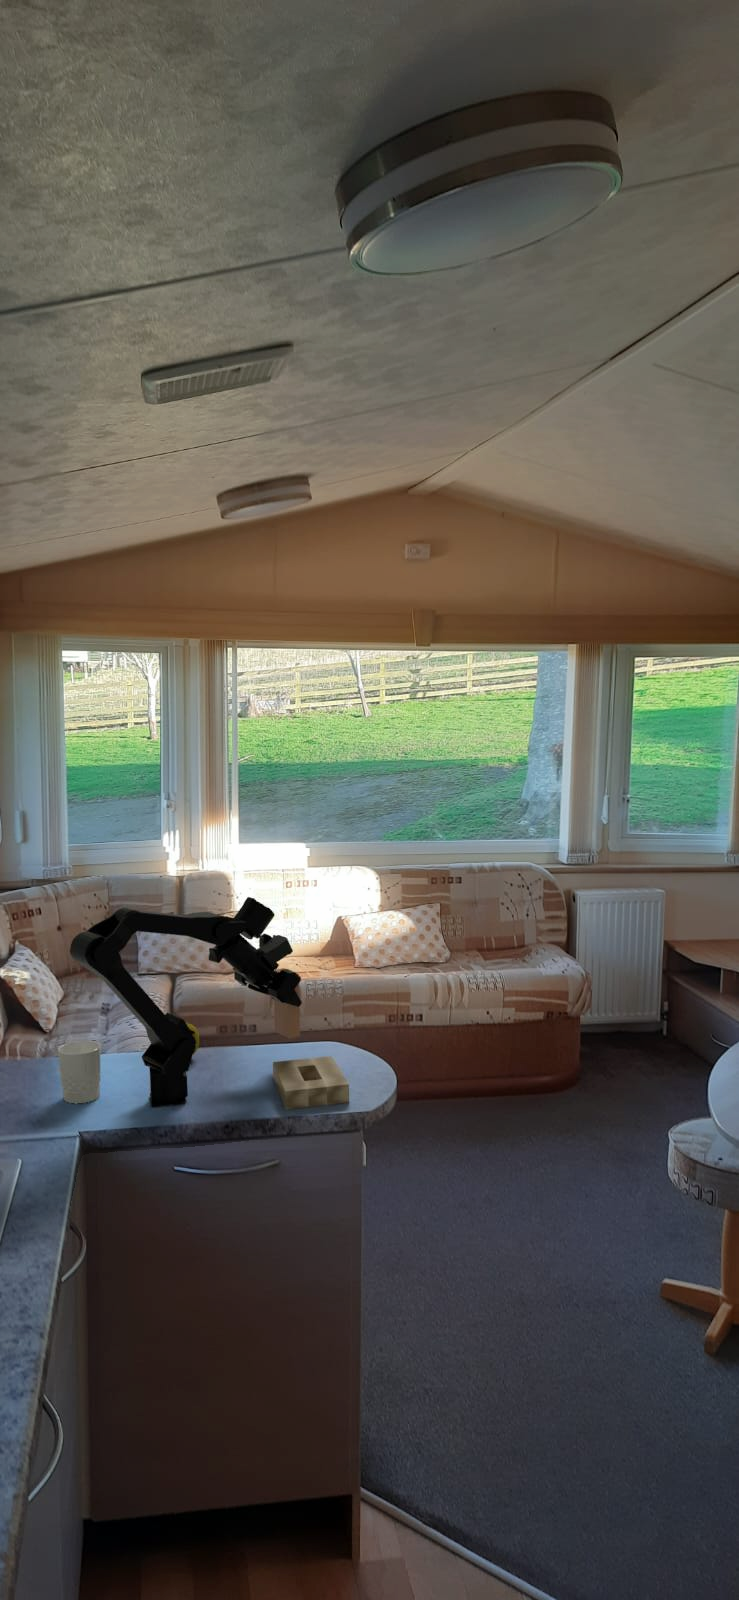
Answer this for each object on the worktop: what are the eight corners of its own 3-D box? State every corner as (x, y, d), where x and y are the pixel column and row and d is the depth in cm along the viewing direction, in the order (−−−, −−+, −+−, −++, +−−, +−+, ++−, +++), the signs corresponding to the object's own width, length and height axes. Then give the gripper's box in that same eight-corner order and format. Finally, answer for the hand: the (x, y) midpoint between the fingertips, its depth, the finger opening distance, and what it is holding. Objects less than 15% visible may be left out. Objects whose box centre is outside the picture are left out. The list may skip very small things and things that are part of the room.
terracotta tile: (289, 1038, 210) (288, 976, 209) (274, 1031, 215) (273, 970, 214) (300, 1036, 212) (298, 974, 210) (285, 1028, 217) (283, 968, 215)
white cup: (110, 1096, 199) (108, 1046, 198) (74, 1109, 193) (72, 1057, 192) (88, 1086, 205) (86, 1037, 204) (52, 1098, 199) (49, 1048, 198)
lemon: (202, 1054, 222) (201, 1018, 221) (195, 1063, 216) (194, 1026, 216) (177, 1054, 222) (176, 1018, 222) (170, 1063, 217) (168, 1026, 216)
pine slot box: (286, 1109, 191) (285, 1091, 191) (273, 1079, 207) (272, 1062, 206) (349, 1102, 194) (348, 1084, 194) (332, 1072, 210) (331, 1056, 209)
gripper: (291, 933, 201) (339, 979, 209) (245, 917, 216) (292, 961, 224) (256, 979, 198) (307, 1024, 205) (212, 960, 213) (261, 1003, 220)
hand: (292, 1001), depth 214 cm, fingers closed on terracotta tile, 6 cm apart
